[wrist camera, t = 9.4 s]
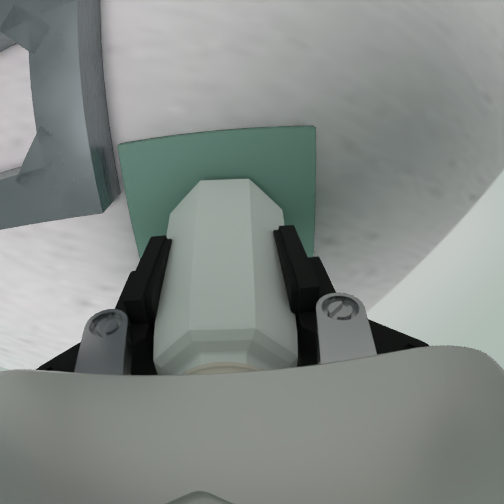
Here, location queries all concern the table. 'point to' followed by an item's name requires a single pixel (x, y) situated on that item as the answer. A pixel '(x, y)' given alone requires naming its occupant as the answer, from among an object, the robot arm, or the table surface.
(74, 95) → the frame
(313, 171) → the mat
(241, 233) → the pepper shaker
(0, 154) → the table surface
